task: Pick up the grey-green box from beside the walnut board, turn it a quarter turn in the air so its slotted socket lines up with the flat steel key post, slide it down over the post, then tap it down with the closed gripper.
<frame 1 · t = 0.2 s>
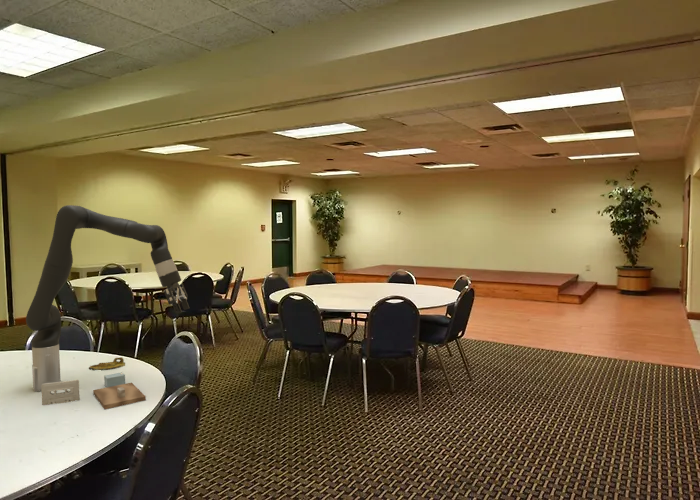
hand: (183, 311, 191), 31 cm above the table, tool tilted 20°, fingers open, 8 cm apart
gold looped flat piece: (107, 368, 221), on the table
grey-green box: (114, 384, 197), on the table
board: (119, 397, 183), on the table
cassette: (61, 403, 178), on the table
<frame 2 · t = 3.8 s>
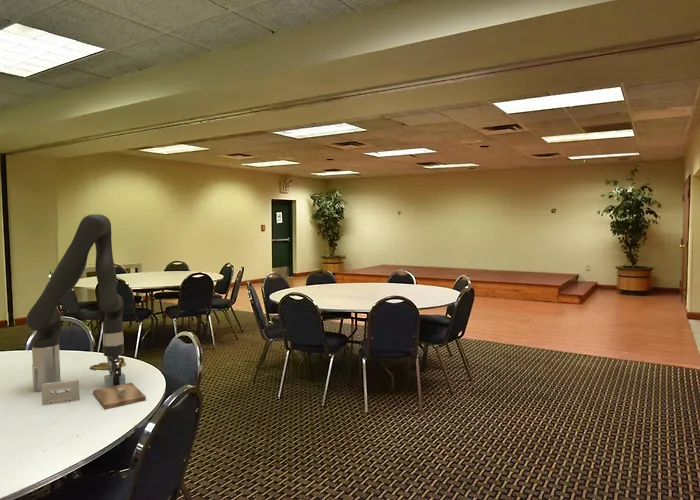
hand: (115, 384, 197), 0 cm above the table, tool pointing down, fingers closed on grey-green box, 4 cm apart
grey-green box: (114, 384, 197), on the table, touching gripper
everything else where it was.
when the fingers open (3 cm above the table, at t = 9.5 s): grey-green box stays where it is, resting on board.
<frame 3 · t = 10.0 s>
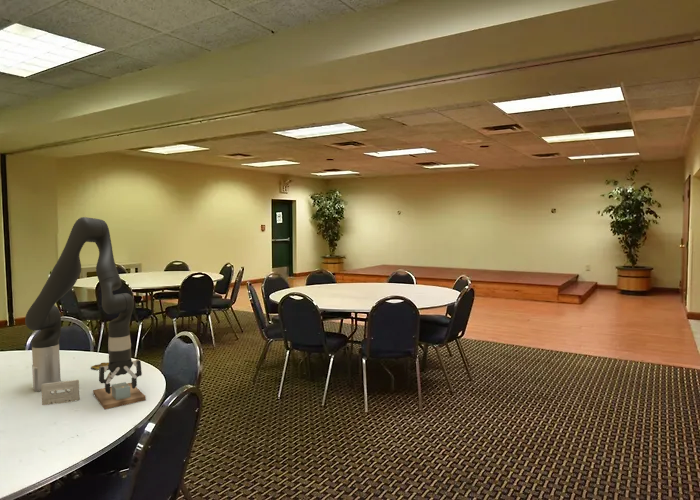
hand: (121, 390, 180), 4 cm above the table, tool pointing down, fingers open, 8 cm apart
grey-green box: (121, 396, 180), point 1 cm above the table, touching board
everything else where it was.
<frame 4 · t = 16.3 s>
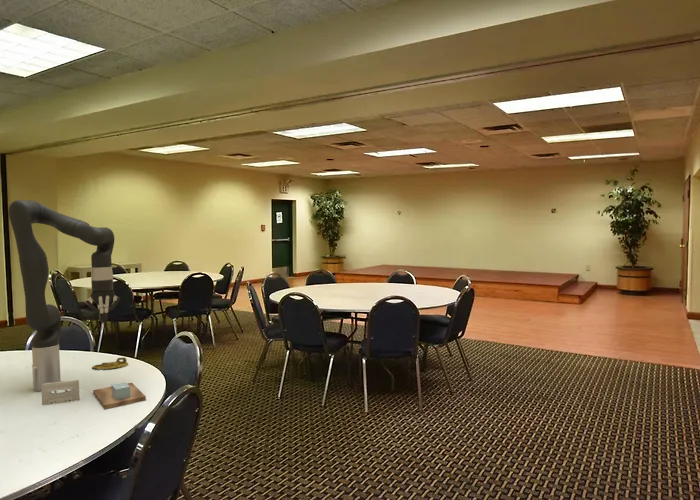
hand: (103, 322, 190), 27 cm above the table, tool pointing down, fingers closed
at the end: grey-green box 0.1 cm from the target spot on the board, point 1.5 cm above the board's base; grey-green box tilted 0°; the gripper is holding nothing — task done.
